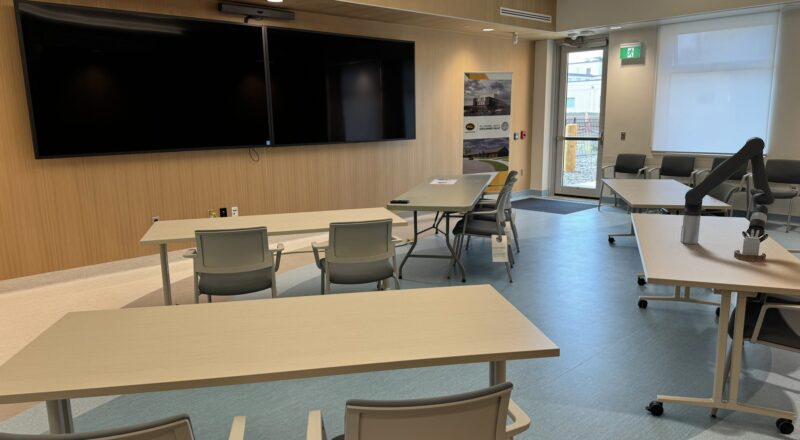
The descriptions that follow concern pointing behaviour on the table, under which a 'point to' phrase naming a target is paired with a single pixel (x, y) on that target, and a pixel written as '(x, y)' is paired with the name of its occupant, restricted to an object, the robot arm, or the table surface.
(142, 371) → the table surface
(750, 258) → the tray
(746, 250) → the can
